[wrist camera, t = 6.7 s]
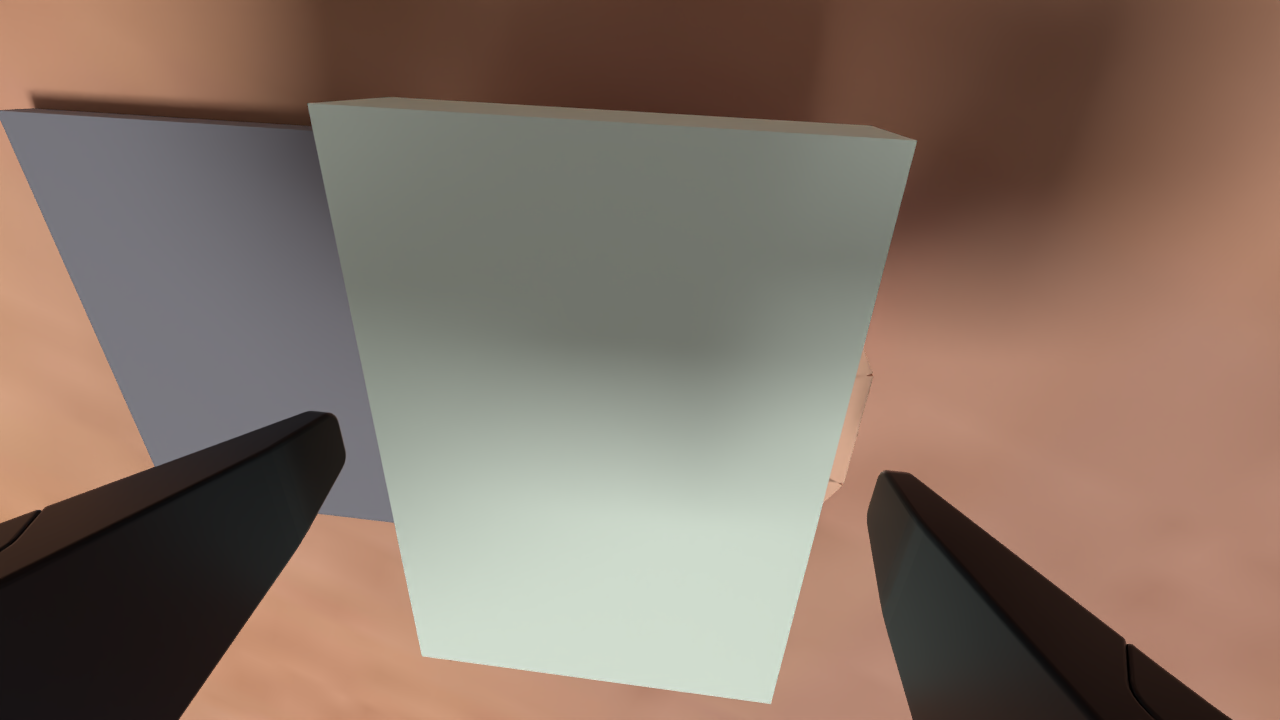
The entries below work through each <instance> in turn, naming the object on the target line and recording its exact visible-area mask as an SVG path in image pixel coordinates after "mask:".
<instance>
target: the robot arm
mask: <svg viewBox="0 0 1280 720" xmlns="http://www.w3.org/2000/svg"><path fill="white" fill-rule="evenodd" d="M345 460H346V450H345V446H344V442H343V438H342V434H341V430H340V426H339V421H338V419H337V417H336V416H335V415H334V414H332V413H329V412H320V411H306V412H303V413H301V414H298V415H295V416H292V417H290V418H287V419H284V420H282V421H279V422H276V423H273V424H271V425H268V426H265V427H262V428H260V429H257V430H254V431H251V432H249V433H246V434H243V435H241V436H238V437H235V438H232V439H230V440H227V441H224V442H221V443H219V444H216V445H213V446H211V447H208V448H205V449H202V450H200V451H197V452H194V453H191V454H189V455H186V456H183V457H180V458H178V459H175V460H172V461H170V462H167V463H164V464H161V465H159V466H156V467H153V468H150V469H148V470H145V471H142V472H140V473H137V474H134V475H131V476H129V477H126V478H123V479H120V480H118V481H115V482H112V483H109V484H107V485H104V486H101V487H99V488H96V489H93V490H90V491H88V492H85V493H82V494H79V495H77V496H74V497H71V498H69V499H66V500H63V501H60V502H58V503H55V504H52V505H49V506H47V507H45V508H44V509H43V510H42V511H41V510H35V511H33V512H30V513H27V514H24V515H22V516H19V517H16V518H14V519H11V520H8V521H5V522H3V523H0V720H179V719H180V717H181V716H182V714H183V713H184V711H185V710H186V709H187V707H188V706H189V704H190V703H191V701H192V700H193V698H194V697H195V696H196V694H197V693H198V691H199V690H200V688H201V687H202V686H203V684H204V683H205V681H206V680H207V678H208V677H209V675H210V674H211V673H212V671H213V670H214V668H215V667H216V665H217V664H218V662H219V661H220V660H221V658H222V657H223V655H224V654H225V652H226V651H227V649H228V648H229V647H230V645H231V644H232V642H233V641H234V639H235V638H236V636H237V635H238V634H239V632H240V631H241V629H242V628H243V626H244V625H245V623H246V622H247V621H248V619H249V618H250V616H251V615H252V613H253V612H254V610H255V609H256V608H257V606H258V605H259V603H260V602H261V600H262V599H263V598H264V596H265V595H266V593H267V592H268V590H269V589H270V587H271V586H272V585H273V583H274V582H275V580H276V579H277V577H278V576H279V574H280V573H281V572H282V570H283V569H284V567H285V566H286V564H287V563H288V561H289V560H290V559H291V557H292V556H293V554H294V553H295V551H296V550H297V548H298V547H299V545H300V543H301V542H302V540H303V538H304V537H305V535H306V533H307V532H308V530H309V528H310V526H311V525H312V523H313V521H314V519H315V517H316V516H317V514H318V512H319V510H320V508H321V507H322V505H323V503H324V501H325V499H326V498H327V496H328V494H329V492H330V490H331V488H332V487H333V485H334V483H335V481H336V479H337V478H338V476H339V474H340V472H341V470H342V469H343V466H344V464H345ZM867 526H868V532H869V538H870V544H871V550H872V556H873V562H874V568H875V574H876V580H877V586H878V592H879V598H880V603H881V608H882V613H883V617H884V621H885V625H886V629H887V632H888V636H889V639H890V643H891V646H892V650H893V653H894V657H895V660H896V664H897V667H898V670H899V674H900V677H901V681H902V684H903V688H904V691H905V695H906V698H907V701H908V705H909V708H910V712H911V715H912V719H913V720H1232V719H1231V718H1229V717H1228V716H1226V715H1225V714H1224V713H1222V712H1221V711H1219V710H1218V709H1217V708H1215V707H1214V706H1213V705H1211V704H1210V703H1209V702H1207V701H1206V700H1205V699H1203V698H1202V697H1201V696H1199V695H1198V694H1197V693H1195V692H1194V691H1193V690H1191V689H1190V688H1189V687H1187V686H1186V685H1185V684H1183V683H1182V682H1181V681H1179V680H1178V679H1177V678H1175V677H1174V676H1173V675H1171V674H1170V673H1169V672H1167V671H1166V670H1165V669H1163V668H1162V667H1161V666H1159V665H1158V664H1157V663H1156V662H1154V661H1153V660H1152V659H1150V658H1149V657H1148V656H1146V655H1145V654H1144V653H1143V652H1141V651H1140V650H1139V649H1137V648H1136V647H1135V646H1134V645H1132V644H1126V641H1125V639H1124V638H1123V637H1122V636H1120V635H1119V634H1118V633H1116V632H1115V631H1114V630H1113V629H1111V628H1110V627H1109V626H1107V625H1106V624H1105V623H1104V622H1102V621H1101V620H1100V619H1098V618H1097V617H1096V616H1094V615H1093V614H1092V613H1091V612H1089V611H1088V610H1087V609H1085V608H1084V607H1083V606H1082V605H1080V604H1079V603H1078V602H1076V601H1075V600H1074V599H1072V598H1071V597H1070V596H1069V595H1067V594H1066V593H1065V592H1063V591H1062V590H1061V589H1060V588H1058V587H1057V586H1056V585H1054V584H1053V583H1052V582H1050V581H1049V580H1048V579H1047V578H1045V577H1044V576H1043V575H1041V574H1040V573H1039V572H1037V571H1036V570H1035V569H1034V568H1032V567H1031V566H1030V565H1028V564H1027V563H1026V562H1025V561H1023V560H1022V559H1021V558H1019V557H1018V556H1017V555H1015V554H1014V553H1013V552H1012V551H1010V550H1009V549H1008V548H1006V547H1005V546H1004V545H1003V544H1001V543H1000V542H999V541H997V540H996V539H995V538H993V537H992V536H991V535H990V534H988V533H987V532H986V531H984V530H983V529H982V528H981V527H979V526H978V525H977V524H975V523H974V522H973V521H971V520H970V519H969V518H968V517H966V516H965V515H964V514H962V513H961V512H960V511H959V510H957V509H956V508H955V507H953V506H952V505H951V504H949V503H948V502H947V501H946V500H944V499H943V498H942V497H940V496H939V495H938V494H936V493H935V492H934V491H933V490H931V489H930V488H929V487H927V486H926V485H925V484H924V483H922V482H921V481H920V480H918V479H917V478H916V477H914V476H913V475H912V474H910V473H907V472H898V471H889V470H885V471H883V472H881V473H880V475H879V476H878V479H877V482H876V485H875V488H874V492H873V495H872V498H871V501H870V505H869V508H868V512H867Z"/></svg>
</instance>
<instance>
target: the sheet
mask: <svg viewBox="0 0 1280 720" xmlns="http://www.w3.org/2000/svg"><path fill="white" fill-rule="evenodd" d="M307 105H308V110H309V114H310V119H311V124H312V129H313V134H314V138H315V143H316V148H317V153H318V158H319V163H320V167H321V172H322V177H323V182H324V187H325V191H326V196H327V201H328V206H329V211H330V216H331V220H332V225H333V230H334V235H335V240H336V244H337V249H338V254H339V259H340V264H341V269H342V273H343V278H344V283H345V288H346V293H347V297H348V302H349V307H350V312H351V317H352V321H353V326H354V331H355V336H356V341H357V346H358V350H359V355H360V360H361V365H362V370H363V374H364V379H365V384H366V389H367V394H368V399H369V403H370V408H371V413H372V418H373V423H374V427H375V432H376V437H377V442H378V447H379V452H380V456H381V461H382V466H383V471H384V476H385V480H386V485H387V490H388V495H389V500H390V505H391V509H392V514H393V519H394V524H395V529H396V533H397V538H398V543H399V548H400V553H401V558H402V562H403V567H404V572H405V577H406V582H407V586H408V591H409V596H410V601H411V606H412V611H413V615H414V620H415V625H416V630H417V635H418V639H419V644H420V649H421V654H422V656H425V657H432V658H439V659H447V660H454V661H461V662H469V663H476V664H483V665H491V666H498V667H505V668H513V669H520V670H527V671H534V672H542V673H549V674H556V675H564V676H571V677H578V678H586V679H593V680H600V681H607V682H615V683H622V684H629V685H637V686H644V687H651V688H659V689H666V690H673V691H680V692H688V693H695V694H702V695H710V696H717V697H724V698H732V699H739V700H746V701H754V702H761V703H768V704H771V701H772V697H773V693H774V689H775V686H776V682H777V678H778V674H779V670H780V666H781V662H782V659H783V655H784V651H785V647H786V643H787V639H788V636H789V632H790V628H791V624H792V620H793V616H794V612H795V609H796V605H797V601H798V597H799V593H800V589H801V585H802V582H803V578H804V574H805V570H806V566H807V562H808V559H809V555H810V551H811V547H812V543H813V539H814V535H815V532H816V528H817V524H818V520H819V516H820V512H821V509H822V505H823V501H824V497H825V493H826V489H827V485H828V482H829V478H830V474H831V470H832V466H833V462H834V459H835V455H836V451H837V447H838V443H839V439H840V435H841V432H842V428H843V424H844V420H845V416H846V412H847V409H848V405H849V401H850V397H851V393H852V389H853V385H854V382H855V378H856V374H857V370H858V366H859V362H860V358H861V355H862V351H863V347H864V343H865V339H866V335H867V332H868V328H869V324H870V320H871V316H872V312H873V308H874V305H875V301H876V297H877V293H878V289H879V285H880V282H881V278H882V274H883V270H884V266H885V262H886V258H887V255H888V251H889V247H890V243H891V239H892V235H893V232H894V228H895V224H896V220H897V216H898V212H899V208H900V205H901V201H902V197H903V193H904V189H905V185H906V182H907V178H908V174H909V170H910V166H911V162H912V158H913V155H914V151H915V147H916V143H917V140H914V139H911V138H908V137H905V136H902V135H898V134H895V133H892V132H889V131H886V130H883V129H880V128H877V127H874V126H869V125H852V124H836V123H819V122H802V121H785V120H769V119H752V118H735V117H718V116H702V115H685V114H668V113H651V112H635V111H618V110H601V109H584V108H568V107H551V106H534V105H517V104H501V103H484V102H467V101H450V100H434V99H417V98H400V97H382V98H369V99H356V100H343V101H330V102H316V103H307Z"/></svg>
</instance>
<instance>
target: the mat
mask: <svg viewBox="0 0 1280 720" xmlns="http://www.w3.org/2000/svg"><path fill="white" fill-rule="evenodd" d="M0 120H1V123H2V125H3V127H4V129H5V132H6V134H7V136H8V138H9V141H10V143H11V145H12V147H13V150H14V152H15V154H16V156H17V159H18V161H19V163H20V165H21V168H22V170H23V172H24V174H25V176H26V179H27V181H28V183H29V185H30V188H31V190H32V192H33V194H34V197H35V199H36V201H37V203H38V206H39V208H40V210H41V212H42V215H43V217H44V219H45V221H46V224H47V226H48V228H49V230H50V233H51V235H52V237H53V239H54V242H55V244H56V246H57V248H58V251H59V253H60V255H61V257H62V260H63V262H64V264H65V266H66V269H67V271H68V273H69V275H70V277H71V280H72V282H73V284H74V286H75V289H76V291H77V293H78V295H79V298H80V300H81V302H82V304H83V307H84V309H85V311H86V313H87V316H88V318H89V320H90V322H91V325H92V327H93V329H94V331H95V334H96V336H97V338H98V340H99V343H100V345H101V347H102V349H103V352H104V354H105V356H106V358H107V361H108V363H109V365H110V367H111V370H112V372H113V374H114V376H115V378H116V381H117V383H118V385H119V387H120V390H121V392H122V394H123V396H124V399H125V401H126V403H127V405H128V408H129V410H130V412H131V414H132V417H133V419H134V421H135V423H136V426H137V428H138V430H139V432H140V435H141V437H142V439H143V441H144V444H145V446H146V448H147V450H148V453H149V455H150V457H151V459H152V462H153V464H154V466H155V467H156V466H159V465H161V464H164V463H167V462H170V461H172V460H175V459H178V458H180V457H183V456H186V455H189V454H191V453H194V452H197V451H200V450H202V449H205V448H208V447H211V446H213V445H216V444H219V443H221V442H224V441H227V440H230V439H232V438H235V437H238V436H241V435H243V434H246V433H249V432H251V431H254V430H257V429H260V428H262V427H265V426H268V425H271V424H273V423H276V422H279V421H282V420H284V419H287V418H290V417H292V416H295V415H298V414H301V413H303V412H306V411H320V412H329V413H332V414H334V415H335V416H336V417H337V419H338V421H339V426H340V430H341V434H342V438H343V442H344V446H345V450H346V460H345V464H344V466H343V469H342V470H341V472H340V474H339V476H338V478H337V479H336V481H335V483H334V485H333V487H332V488H331V490H330V492H329V494H328V496H327V498H326V499H325V501H324V503H323V505H322V507H321V508H320V510H319V512H318V514H325V515H334V516H342V517H351V518H359V519H368V520H376V521H385V522H393V523H394V519H393V514H392V509H391V505H390V500H389V495H388V490H387V485H386V480H385V476H384V471H383V466H382V461H381V456H380V452H379V447H378V442H377V437H376V432H375V427H374V423H373V418H372V413H371V408H370V403H369V399H368V394H367V389H366V384H365V379H364V374H363V370H362V365H361V360H360V355H359V350H358V346H357V341H356V336H355V331H354V326H353V321H352V317H351V312H350V307H349V302H348V297H347V293H346V288H345V283H344V278H343V273H342V269H341V264H340V259H339V254H338V249H337V244H336V240H335V235H334V230H333V225H332V220H331V216H330V211H329V206H328V201H327V196H326V191H325V187H324V182H323V177H322V172H321V167H320V163H319V158H318V153H317V148H316V143H315V138H314V134H313V129H312V126H302V125H286V124H270V123H255V122H239V121H223V120H207V119H191V118H176V117H160V116H144V115H128V114H112V113H97V112H81V111H65V110H49V109H34V108H33V109H14V110H0Z"/></svg>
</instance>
